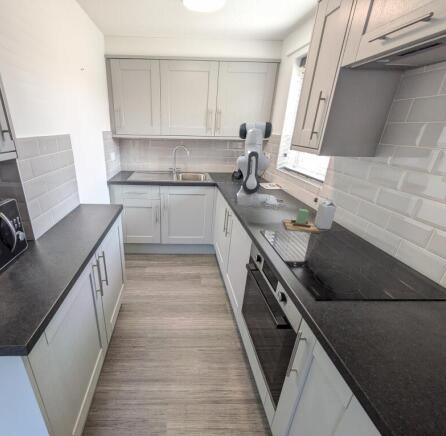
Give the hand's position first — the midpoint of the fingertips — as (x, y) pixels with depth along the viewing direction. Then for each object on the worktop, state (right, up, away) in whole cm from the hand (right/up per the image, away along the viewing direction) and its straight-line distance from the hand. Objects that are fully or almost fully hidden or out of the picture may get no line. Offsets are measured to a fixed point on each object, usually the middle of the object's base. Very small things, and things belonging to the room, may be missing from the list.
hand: (284, 203), depth 146 cm
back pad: (+11, -14, +2) cm, 18 cm away
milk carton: (+26, -16, +3) cm, 30 cm away
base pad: (+11, -15, +2) cm, 19 cm away
